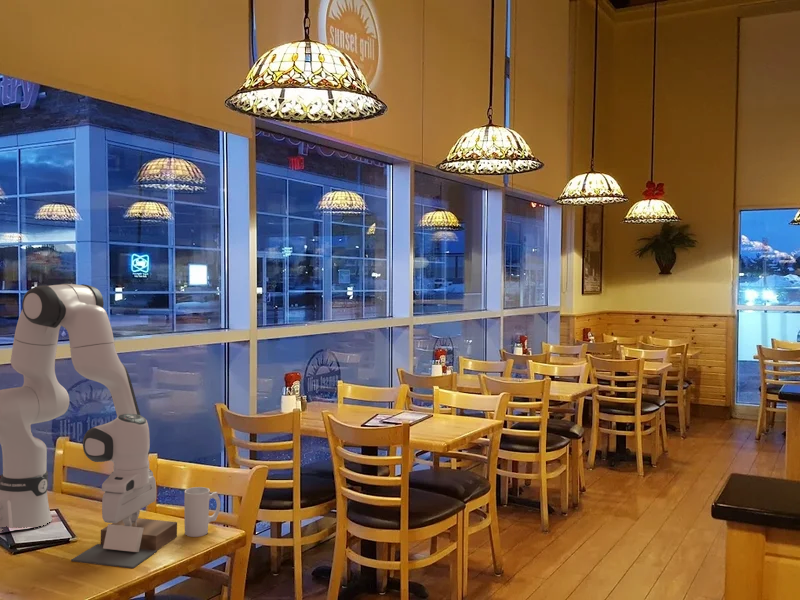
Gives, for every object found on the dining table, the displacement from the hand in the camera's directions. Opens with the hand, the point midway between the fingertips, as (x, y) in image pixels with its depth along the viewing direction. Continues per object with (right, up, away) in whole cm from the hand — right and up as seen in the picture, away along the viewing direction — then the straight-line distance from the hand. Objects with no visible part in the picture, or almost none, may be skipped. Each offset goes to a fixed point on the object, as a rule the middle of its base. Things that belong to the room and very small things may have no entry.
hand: (130, 528), depth 194 cm
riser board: (+1, -5, +5) cm, 7 cm away
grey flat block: (0, -2, -3) cm, 3 cm away
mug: (+16, -5, +12) cm, 20 cm away
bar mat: (-2, -5, -7) cm, 8 cm away
